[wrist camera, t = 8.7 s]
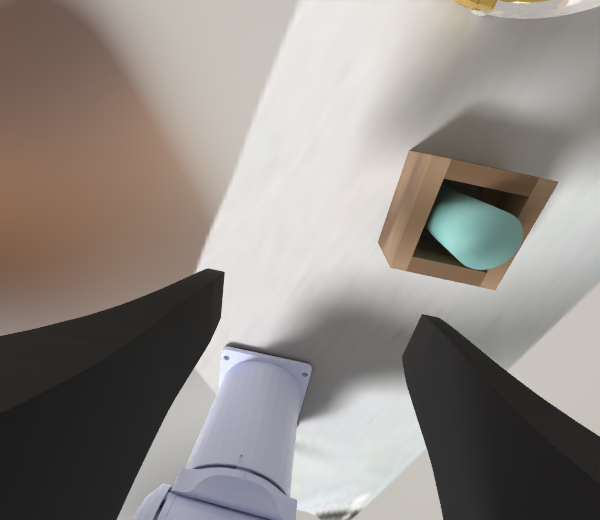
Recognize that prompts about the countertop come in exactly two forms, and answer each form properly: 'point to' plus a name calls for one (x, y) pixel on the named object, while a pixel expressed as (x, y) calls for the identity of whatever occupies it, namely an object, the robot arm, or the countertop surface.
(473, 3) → the ring
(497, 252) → the teal cylinder
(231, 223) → the countertop surface
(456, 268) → the bead block
